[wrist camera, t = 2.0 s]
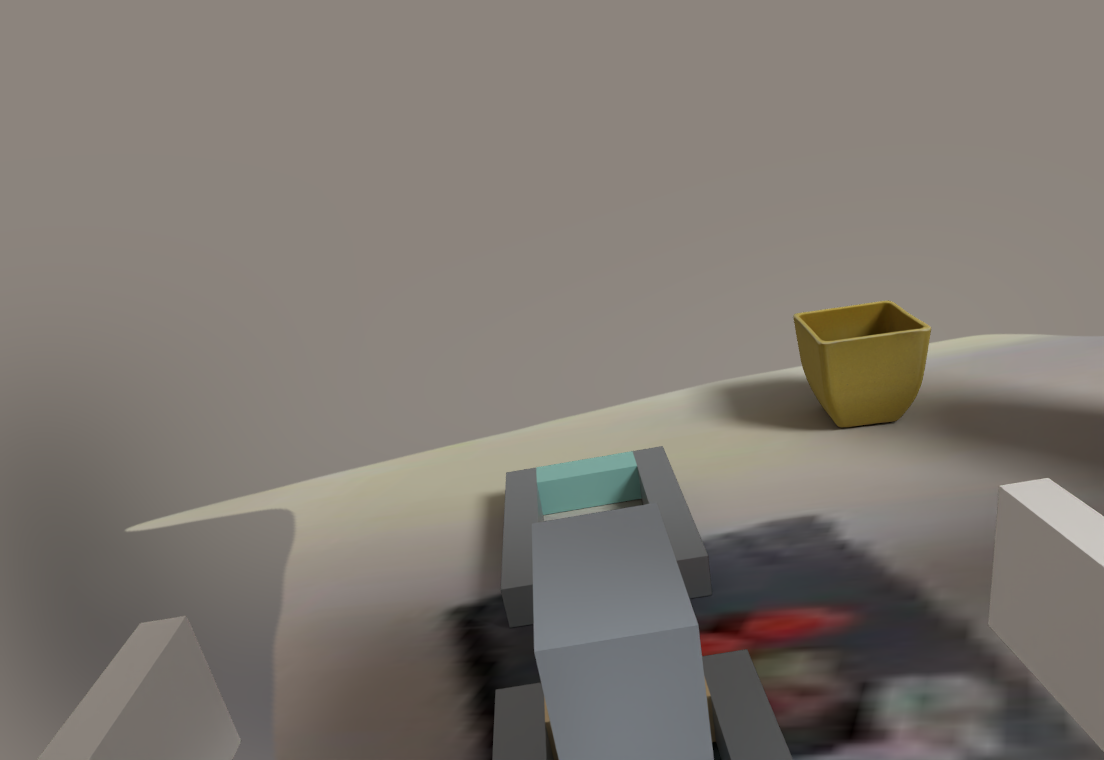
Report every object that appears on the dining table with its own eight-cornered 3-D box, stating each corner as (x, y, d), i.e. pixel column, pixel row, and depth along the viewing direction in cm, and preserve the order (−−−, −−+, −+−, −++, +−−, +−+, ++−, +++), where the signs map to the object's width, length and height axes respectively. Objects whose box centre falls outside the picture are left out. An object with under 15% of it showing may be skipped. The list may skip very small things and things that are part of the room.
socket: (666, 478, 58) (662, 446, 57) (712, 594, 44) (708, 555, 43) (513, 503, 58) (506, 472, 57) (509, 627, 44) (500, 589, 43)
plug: (687, 755, 34) (652, 489, 28) (734, 938, 26) (698, 625, 21) (586, 771, 34) (531, 510, 28) (604, 958, 26) (534, 651, 21)
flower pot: (795, 400, 67) (791, 312, 64) (889, 389, 66) (890, 298, 63) (822, 442, 59) (819, 343, 56) (930, 429, 58) (934, 327, 55)
